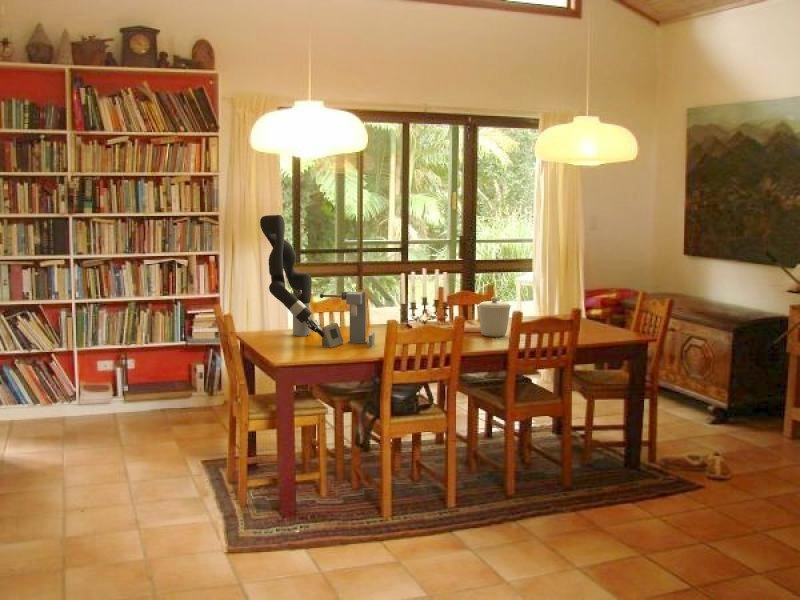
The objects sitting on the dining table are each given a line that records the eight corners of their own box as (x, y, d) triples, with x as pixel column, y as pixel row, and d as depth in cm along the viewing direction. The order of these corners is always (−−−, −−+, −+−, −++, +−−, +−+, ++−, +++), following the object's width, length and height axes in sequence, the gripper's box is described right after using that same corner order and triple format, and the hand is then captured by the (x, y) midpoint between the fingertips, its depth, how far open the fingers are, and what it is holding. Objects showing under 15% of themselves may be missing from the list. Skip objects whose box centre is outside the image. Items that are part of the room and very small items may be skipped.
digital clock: (330, 349, 421) (330, 327, 420) (315, 347, 425) (315, 326, 424) (348, 344, 435) (349, 323, 434) (334, 342, 439) (334, 321, 438)
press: (342, 342, 440) (342, 291, 436) (375, 343, 438) (375, 292, 435) (337, 347, 426) (337, 294, 423) (371, 347, 425) (372, 295, 422)
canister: (499, 339, 452) (500, 299, 449) (470, 335, 462) (470, 296, 460) (516, 335, 466) (517, 296, 463) (488, 331, 477) (488, 293, 474)
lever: (320, 297, 436) (320, 293, 436) (347, 298, 435) (347, 293, 434) (319, 298, 433) (319, 293, 433) (346, 298, 432) (346, 294, 432)
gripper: (302, 308, 423) (327, 333, 423) (308, 304, 436) (332, 329, 436) (292, 318, 424) (316, 343, 425) (297, 314, 437) (321, 339, 438)
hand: (324, 336), depth 431 cm, fingers closed
